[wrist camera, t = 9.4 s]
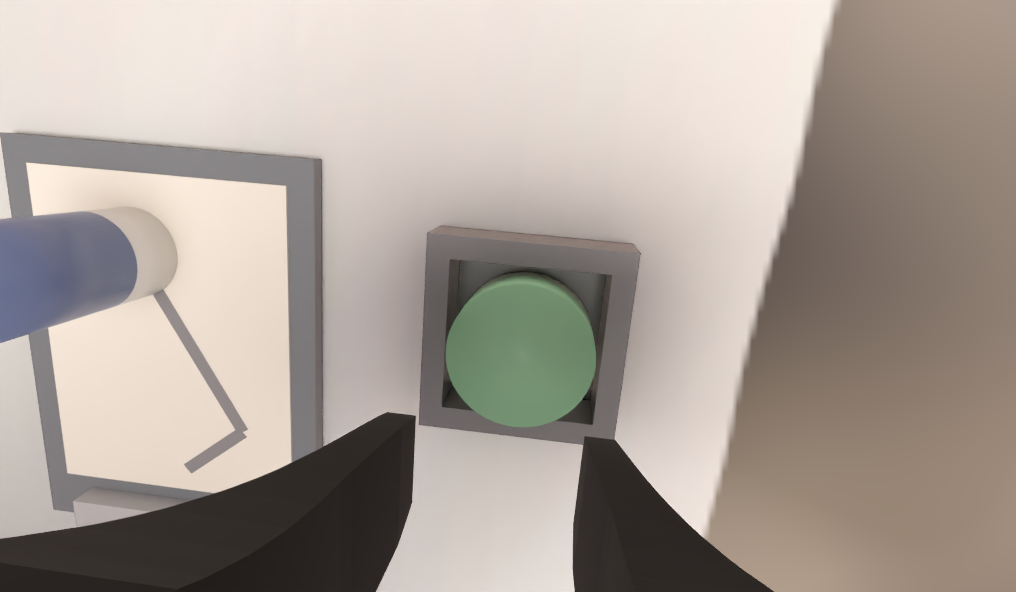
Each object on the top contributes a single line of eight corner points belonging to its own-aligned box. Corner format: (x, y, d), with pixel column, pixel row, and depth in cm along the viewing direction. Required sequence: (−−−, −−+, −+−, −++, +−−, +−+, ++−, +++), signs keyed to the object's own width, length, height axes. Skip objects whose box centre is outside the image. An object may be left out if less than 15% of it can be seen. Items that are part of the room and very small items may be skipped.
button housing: (608, 422, 22) (612, 448, 20) (431, 401, 22) (418, 424, 20) (633, 243, 20) (640, 253, 18) (440, 225, 20) (427, 233, 18)
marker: (181, 299, 21) (0, 363, 14) (98, 292, 22) (-117, 351, 15) (173, 209, 20) (-22, 233, 14) (87, 203, 21) (-146, 223, 14)
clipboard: (322, 536, 24) (306, 562, 23) (65, 501, 25) (32, 523, 24) (321, 159, 20) (301, 159, 19) (15, 133, 21) (-29, 131, 20)
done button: (584, 408, 20) (586, 435, 18) (453, 393, 20) (442, 418, 18) (600, 279, 19) (605, 293, 17) (461, 265, 19) (449, 277, 17)
